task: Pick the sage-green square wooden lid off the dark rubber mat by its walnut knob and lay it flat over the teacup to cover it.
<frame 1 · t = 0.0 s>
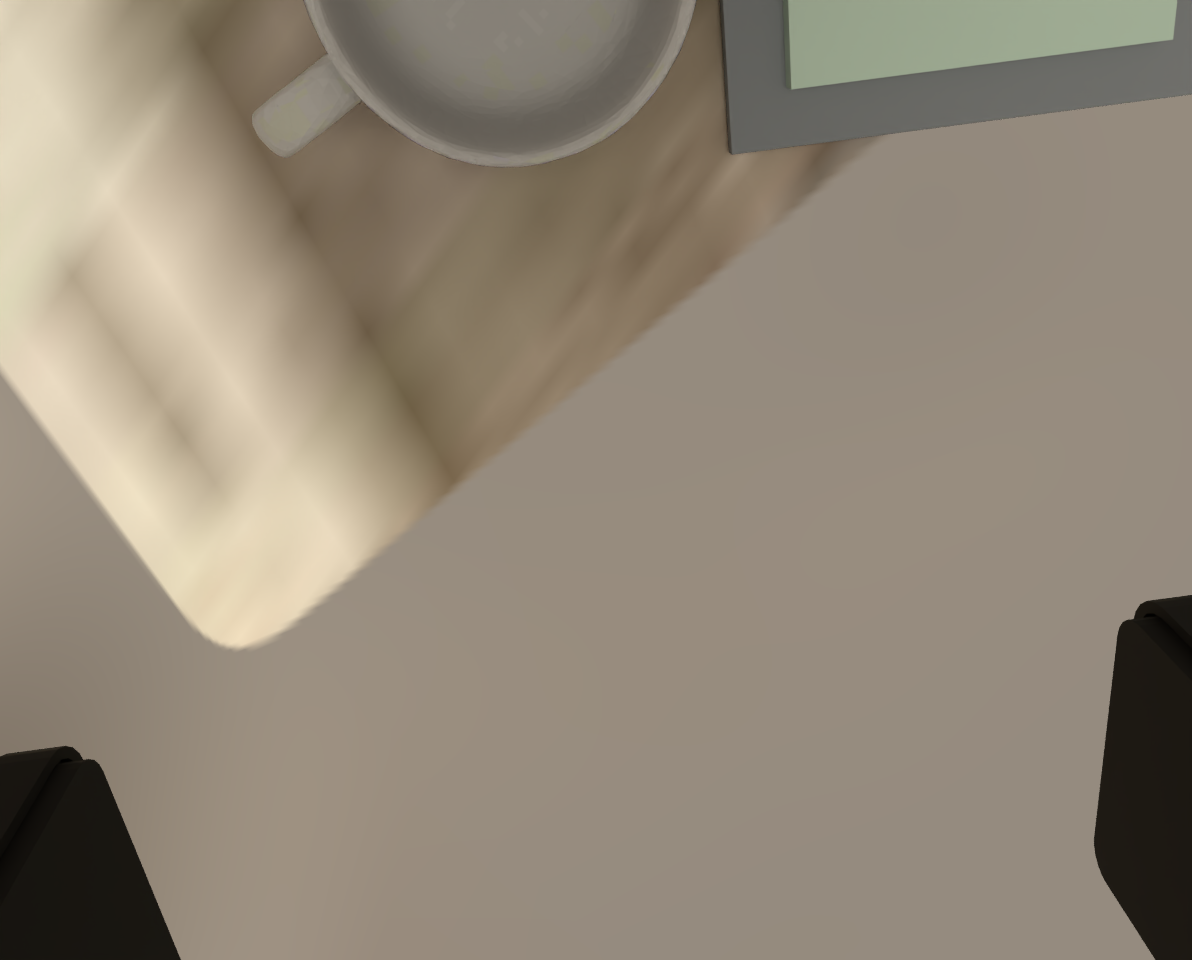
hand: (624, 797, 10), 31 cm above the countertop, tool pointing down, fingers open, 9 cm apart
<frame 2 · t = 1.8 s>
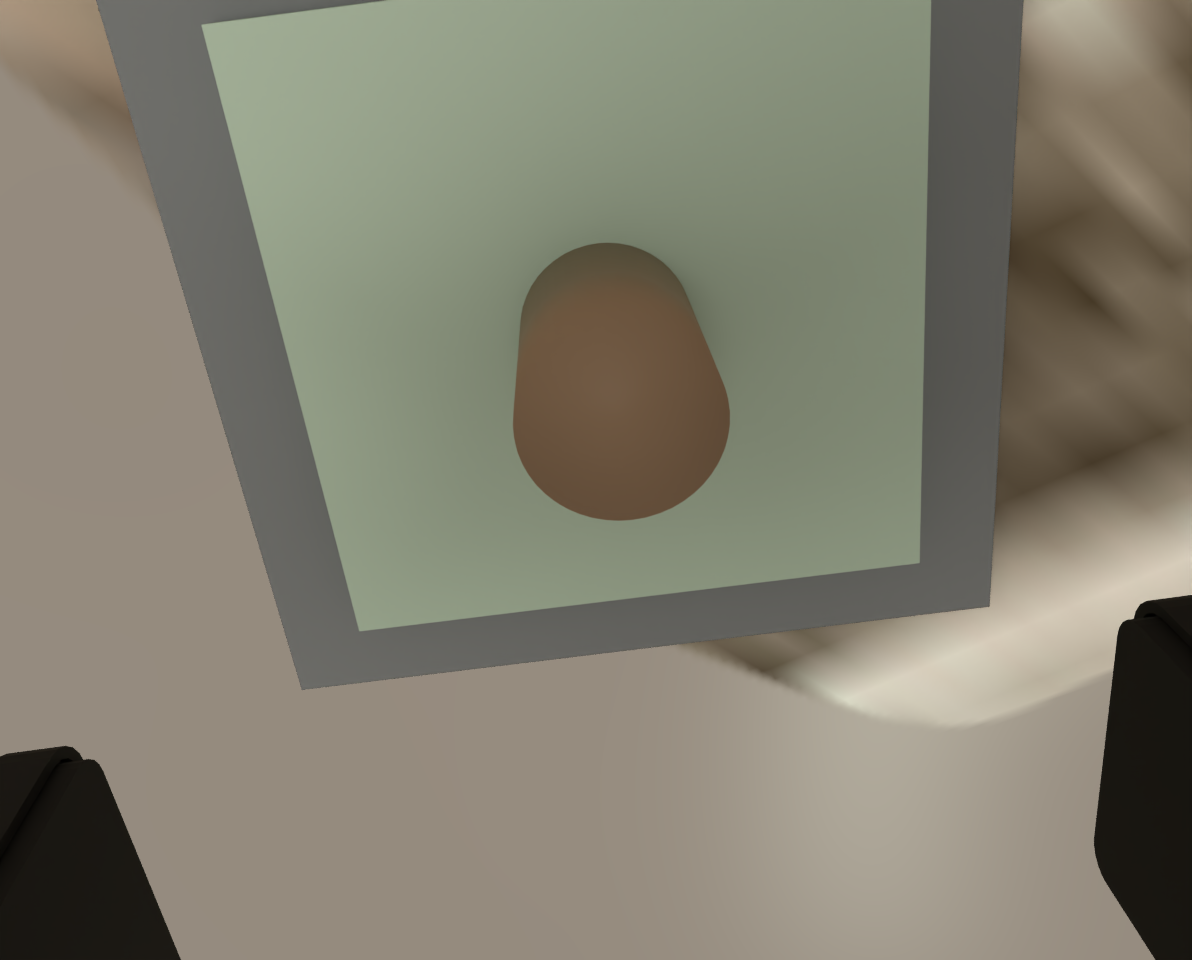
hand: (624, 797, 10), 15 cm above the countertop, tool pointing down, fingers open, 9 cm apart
lid: (604, 316, 22), point 1 cm above the countertop, touching mat
mat: (603, 308, 23), on the countertop
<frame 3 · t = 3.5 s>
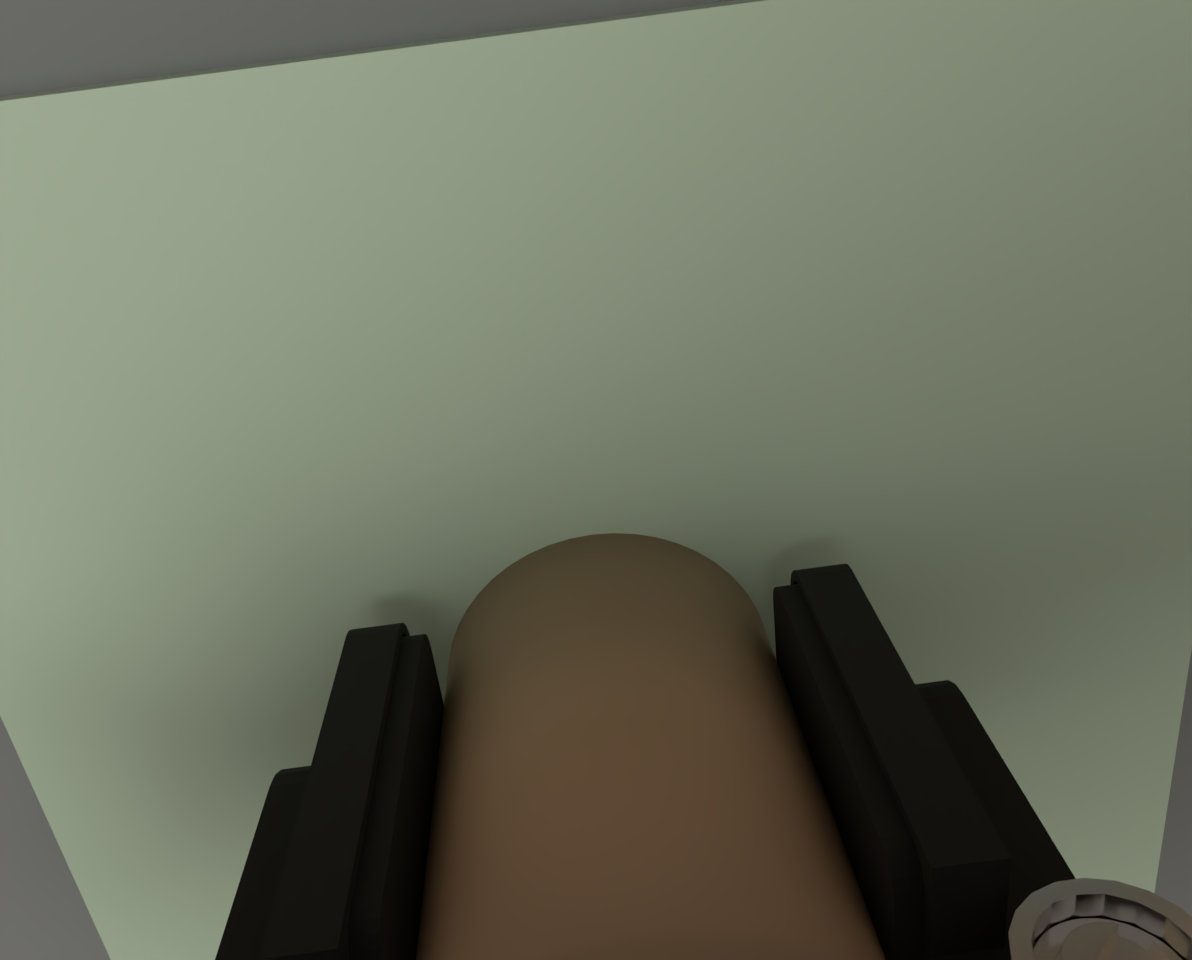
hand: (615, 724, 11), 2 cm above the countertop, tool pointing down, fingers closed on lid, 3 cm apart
lid: (604, 633, 12), point 1 cm above the countertop, touching gripper, mat
mat: (601, 605, 13), on the countertop
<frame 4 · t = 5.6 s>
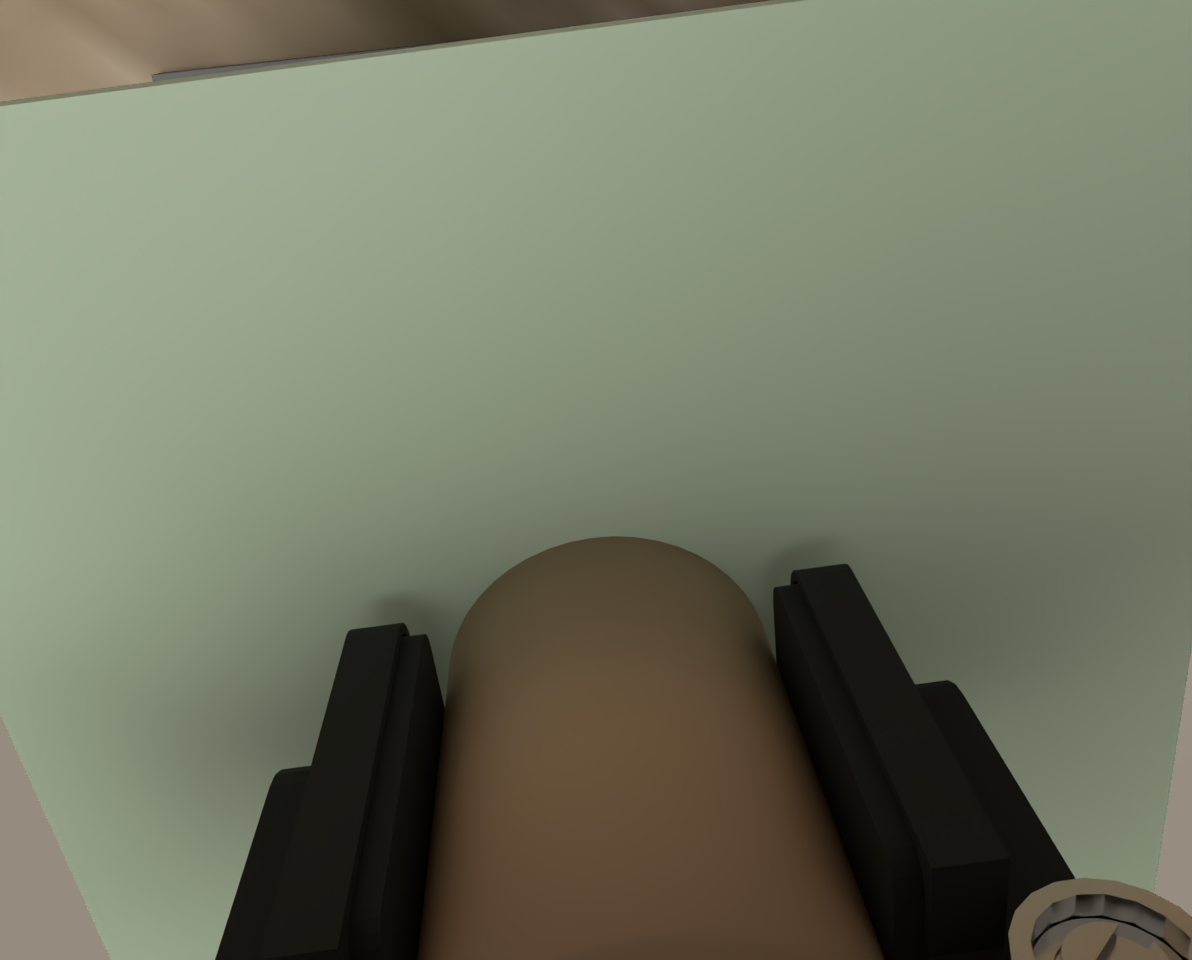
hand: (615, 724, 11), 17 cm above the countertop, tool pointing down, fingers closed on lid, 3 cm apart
lid: (605, 636, 12), point 15 cm above the countertop, touching gripper
mat: (579, 387, 27), on the countertop
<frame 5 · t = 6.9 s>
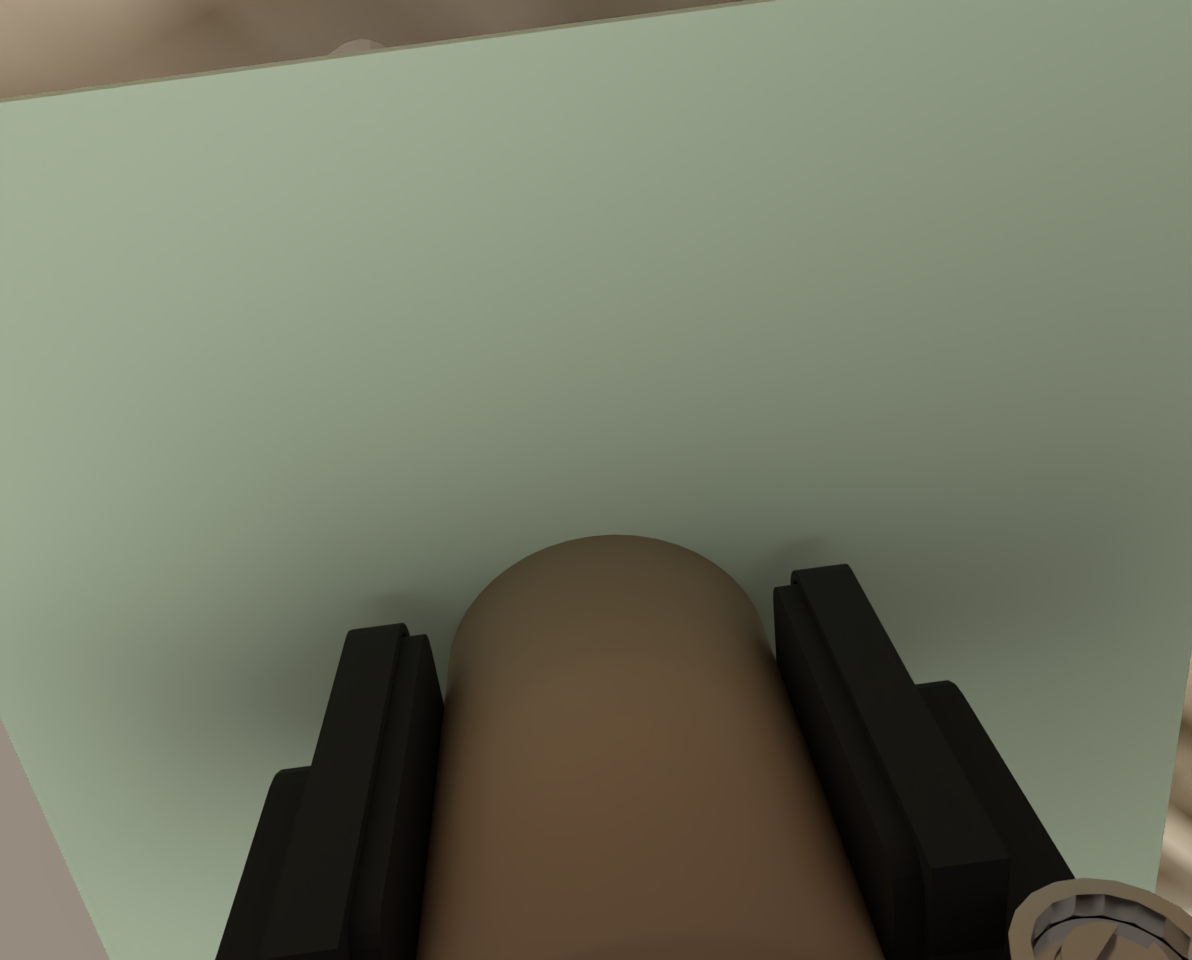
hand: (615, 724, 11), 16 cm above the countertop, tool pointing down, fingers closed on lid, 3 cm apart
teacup: (577, 298, 25), on the countertop
lid: (604, 634, 12), point 14 cm above the countertop, touching gripper
when the fingers open (11 cm above the countertop, at t = 7.9 s): lid drops 1 cm, resting on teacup.
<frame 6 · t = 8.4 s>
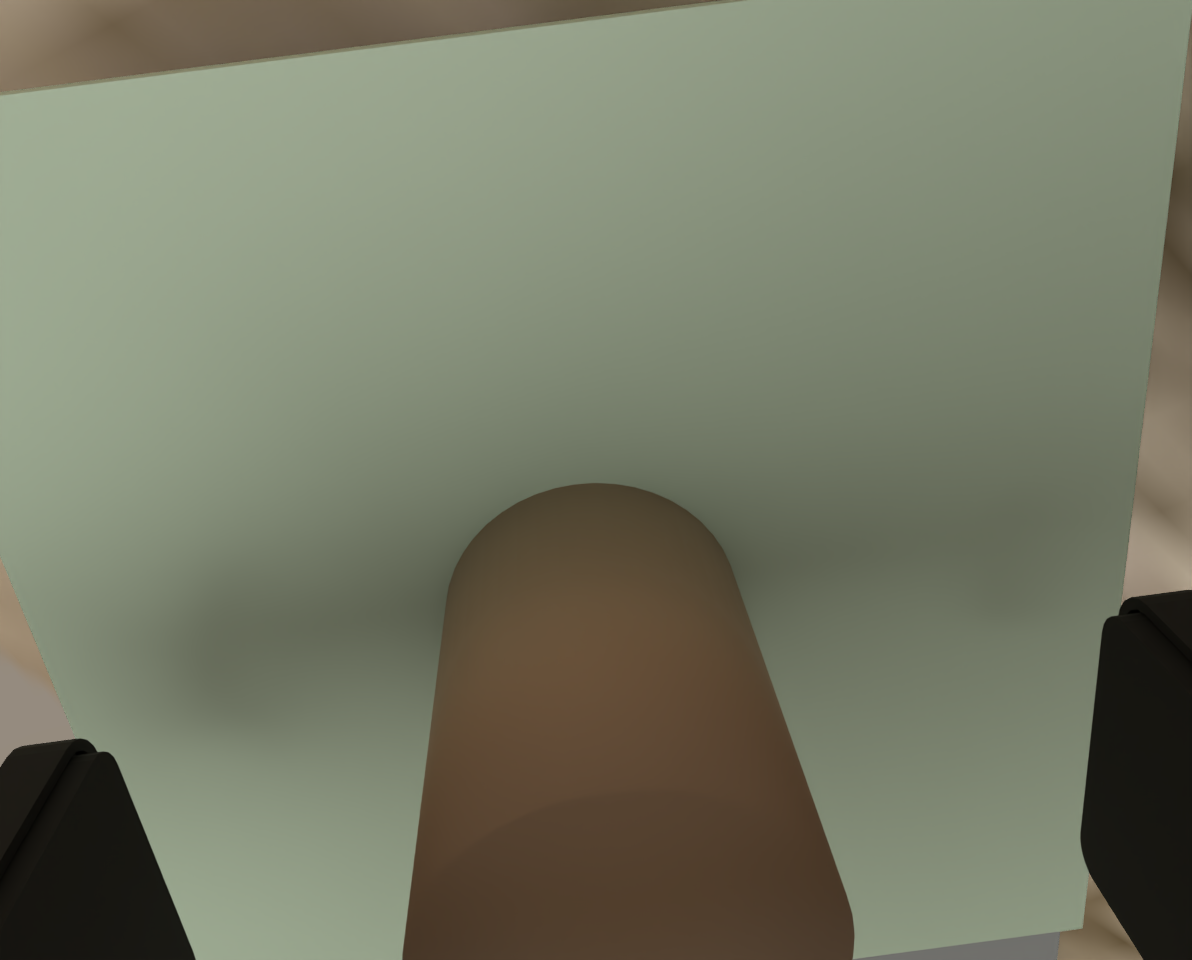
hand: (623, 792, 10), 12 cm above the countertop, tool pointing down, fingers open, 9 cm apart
lid: (588, 580, 13), point 8 cm above the countertop, touching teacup
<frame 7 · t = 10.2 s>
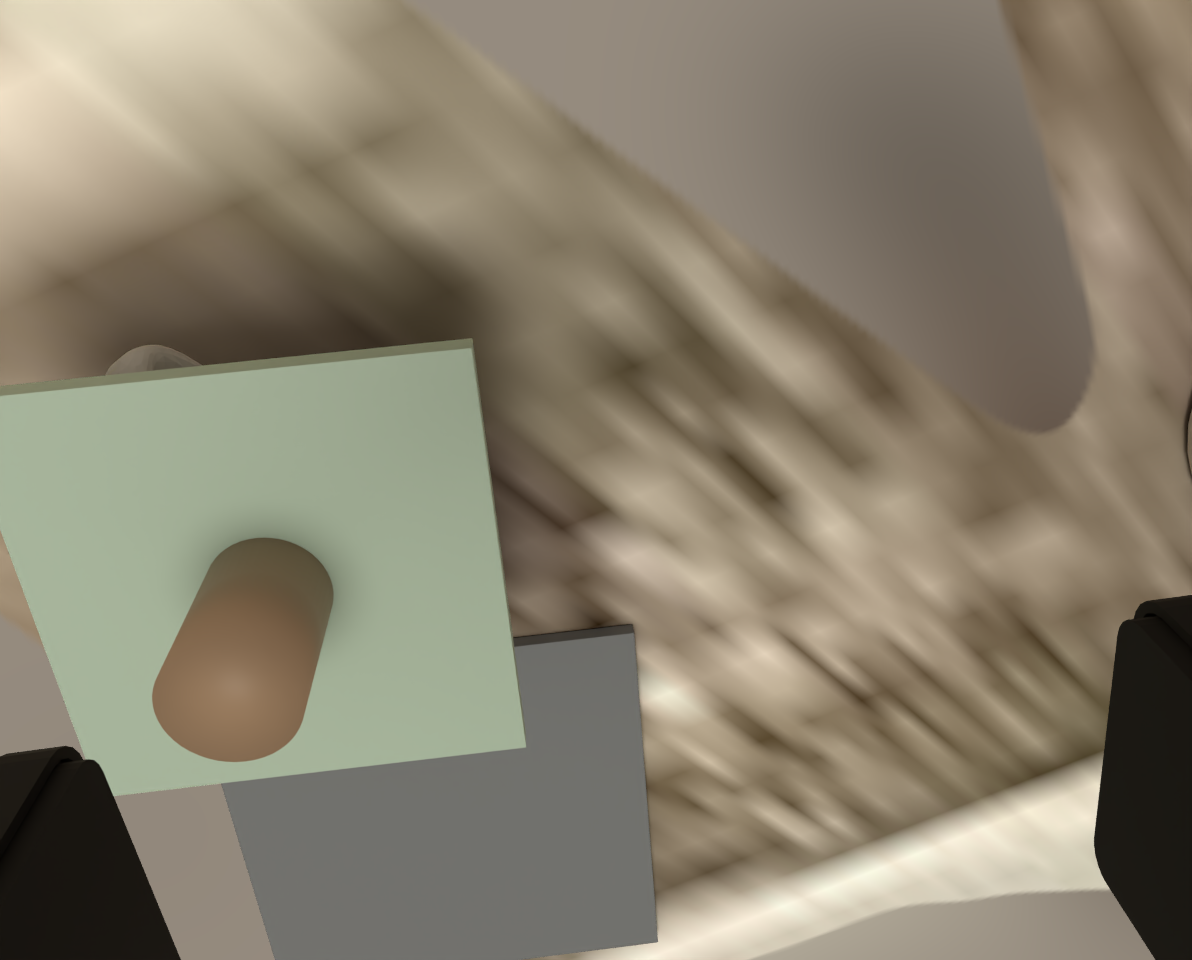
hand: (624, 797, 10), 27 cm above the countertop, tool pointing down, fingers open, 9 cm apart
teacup: (322, 456, 38), on the countertop, touching lid
lid: (275, 577, 30), point 8 cm above the countertop, touching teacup
mat: (446, 814, 45), on the countertop
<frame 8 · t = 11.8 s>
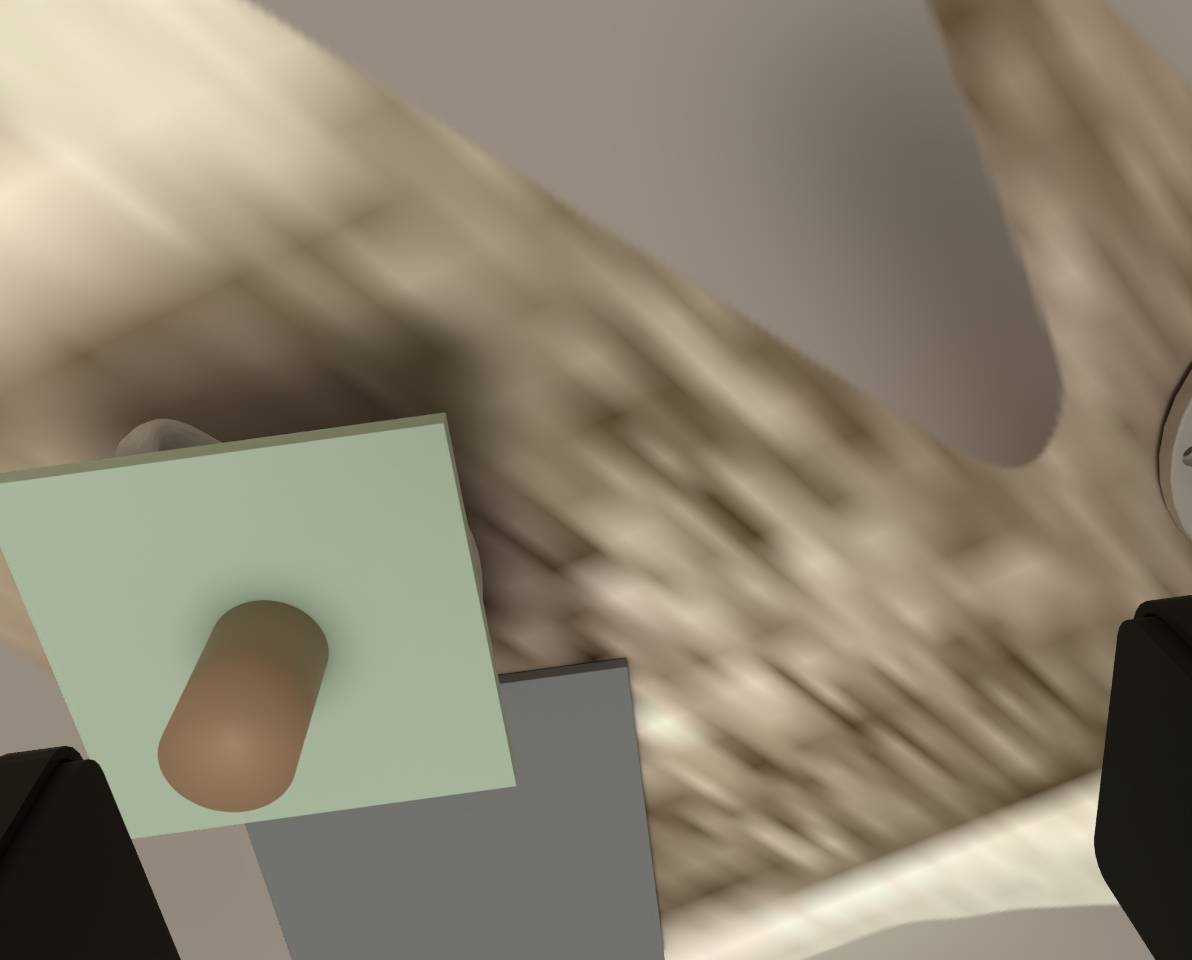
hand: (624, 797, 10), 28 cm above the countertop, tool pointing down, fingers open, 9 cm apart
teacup: (325, 508, 40), on the countertop, touching lid
lid: (275, 634, 33), point 8 cm above the countertop, touching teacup
mat: (456, 840, 47), on the countertop
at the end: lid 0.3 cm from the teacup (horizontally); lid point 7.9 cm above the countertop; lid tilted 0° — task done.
